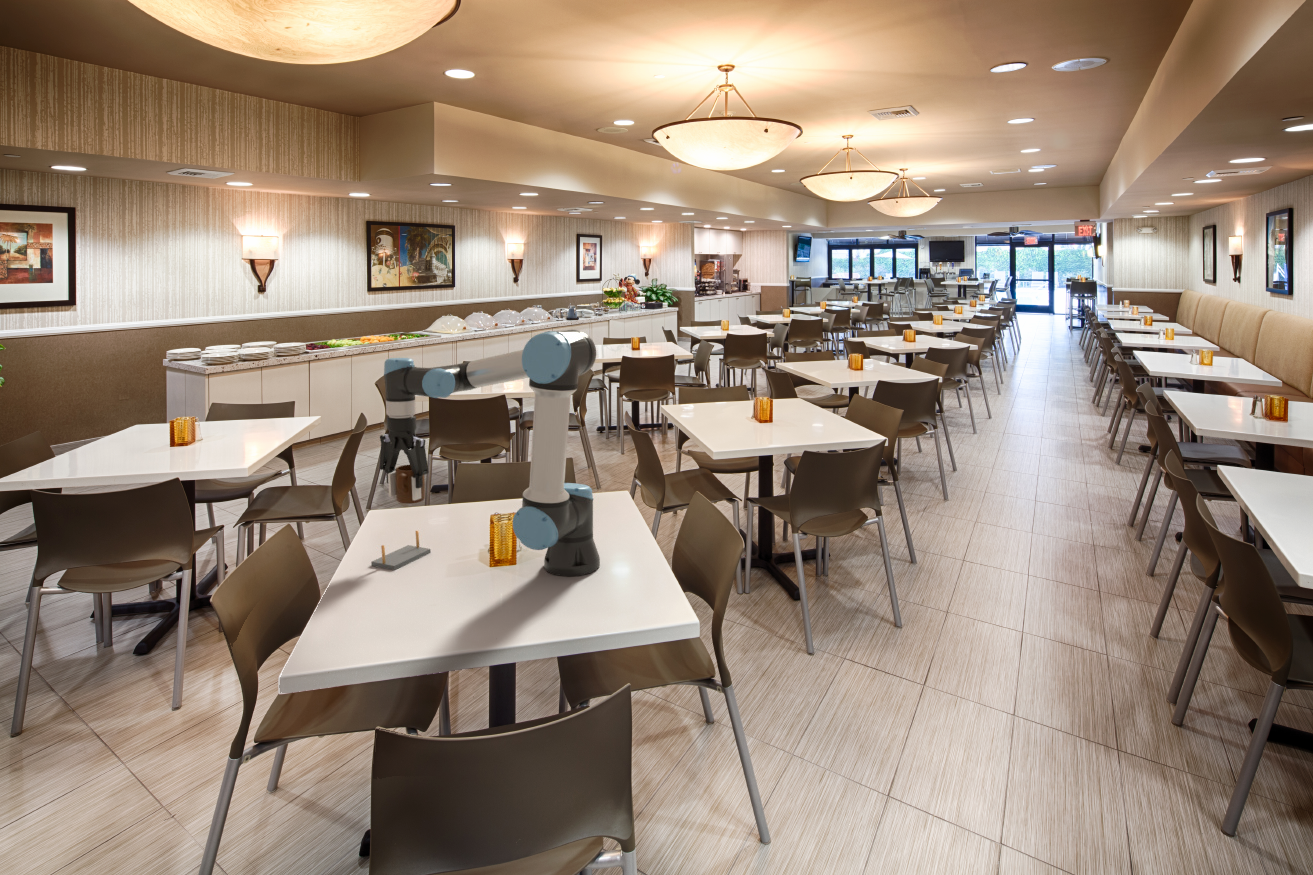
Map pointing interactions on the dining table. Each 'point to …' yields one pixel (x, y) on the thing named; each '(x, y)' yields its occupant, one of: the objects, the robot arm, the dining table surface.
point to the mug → (406, 485)
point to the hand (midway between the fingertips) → (405, 497)
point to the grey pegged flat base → (401, 556)
